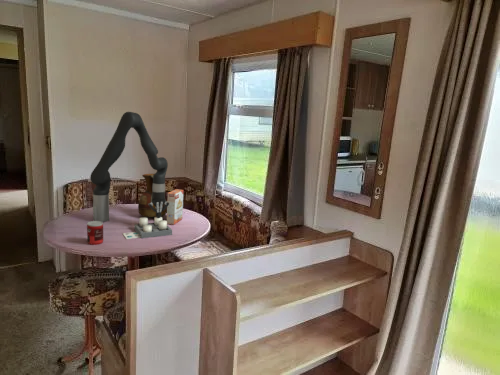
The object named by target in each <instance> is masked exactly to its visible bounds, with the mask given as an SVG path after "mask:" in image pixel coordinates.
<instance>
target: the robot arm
mask: <svg viewBox="0 0 500 375" xmlns="http://www.w3.org/2000/svg"><path fill="white" fill-rule="evenodd" d="M131 129H134V130H135V132H136V133H137V135H138V136H139V141H140V145H141V147H142V150H143V151H144V152H145V154H146V156H147V159H148V162H149V163H148V164H149V165H150V167H151V168H152V169H153V170H154V171H156V172H154V173H153V174H154V175H153V191H152V202H151V203H149V204H148V205H149V206H150V207H151V209H152V210H153V211H154V212H156V217H157V218H160V217H162V216H161V212H162V211H164V210H165V209H166V208H167V206H168V205H169V203H168V202H166V201H167V199H166V174H167V171H168V160H167V158H165V157H158V155H157V154H159V149H158V148H157V147H156V144H155V143H154V142H153V140H152V139H151V136H150V135H149V132H148V131H147V128H146V125H145V123H144V121H143V118H142V117H141V115H140V114H139V113H137V112H134V111H133V112H132V111H126V112H124V113H123V114H122V115H121V118H120V120H119V123H118V124H117V128H116V130H115V131H114V133H113V135H112V137H111V139H110V141H109V142H108V144H107V146H106V148H105V150H104V152H103V154H102V155H101V157H100V159H99V162H98V163H97V165H96V166H95V168H93V169H92V172H91V174H90V176H89V179H90V181H91V183H92V184H93V185H96V186H95V187H94V189H93V191H92V195H93V196H92V198H93V203H92V218H93V219H92V220H93V221H101V222H108V221H109V220H110V190H111V174H110V170H109V169H110V168H111V167H112V166H113V165H114V163H116V162H117V161H118V159H120V157H121V155H122V154H123V153H124V152H123V151H124V150H125V149H126V148H125V147H126V139H127V135H128V133H129V131H130V130H131ZM165 199H166V200H165ZM164 203H165V205H164ZM153 204H154V206H155V208H156V209H154V208H153ZM163 205H164V206H163ZM162 206H163V207H162Z"/></svg>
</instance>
